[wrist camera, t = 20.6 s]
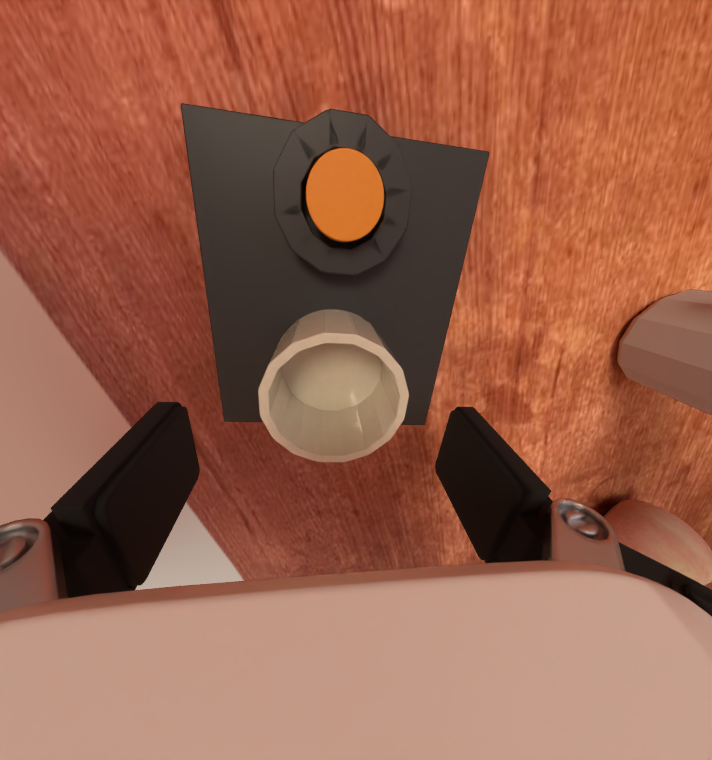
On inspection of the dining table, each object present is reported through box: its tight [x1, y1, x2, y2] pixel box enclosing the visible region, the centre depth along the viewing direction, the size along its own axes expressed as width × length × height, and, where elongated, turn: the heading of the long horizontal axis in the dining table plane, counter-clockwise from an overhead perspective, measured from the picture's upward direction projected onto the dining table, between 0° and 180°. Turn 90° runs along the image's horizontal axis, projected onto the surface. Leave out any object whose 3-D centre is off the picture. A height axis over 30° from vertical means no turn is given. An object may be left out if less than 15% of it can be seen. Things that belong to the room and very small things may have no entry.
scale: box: [181, 103, 489, 425], centre depth 16 cm, size 14×16×4 cm
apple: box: [604, 500, 712, 585], centre depth 26 cm, size 8×8×8 cm
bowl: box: [258, 309, 409, 462], centre depth 15 cm, size 7×7×5 cm
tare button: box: [306, 148, 384, 242], centre depth 12 cm, size 3×3×2 cm
